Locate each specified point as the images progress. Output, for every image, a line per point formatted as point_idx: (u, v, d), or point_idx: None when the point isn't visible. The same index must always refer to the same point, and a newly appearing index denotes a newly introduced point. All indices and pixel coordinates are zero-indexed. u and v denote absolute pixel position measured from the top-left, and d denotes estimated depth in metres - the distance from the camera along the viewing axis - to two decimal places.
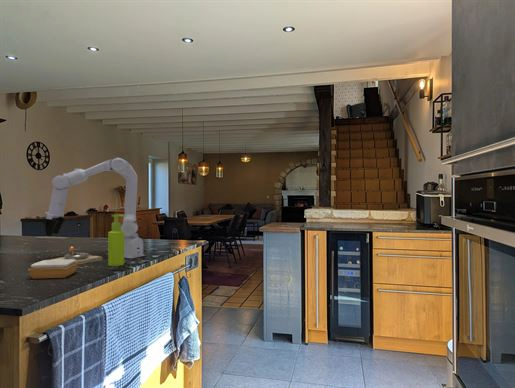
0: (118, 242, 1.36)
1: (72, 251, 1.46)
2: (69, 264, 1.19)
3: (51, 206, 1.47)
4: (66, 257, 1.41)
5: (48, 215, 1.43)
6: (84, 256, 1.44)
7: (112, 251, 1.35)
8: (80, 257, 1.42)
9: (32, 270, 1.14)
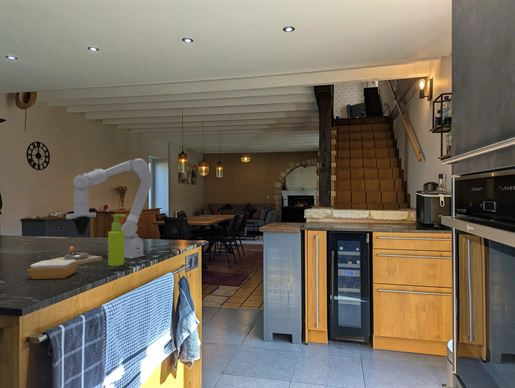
0: (118, 242, 1.36)
1: (72, 251, 1.46)
2: (69, 264, 1.18)
3: (74, 206, 1.49)
4: (66, 257, 1.41)
5: (67, 215, 1.44)
6: (84, 256, 1.44)
7: (112, 251, 1.35)
8: (80, 257, 1.42)
9: (32, 270, 1.14)
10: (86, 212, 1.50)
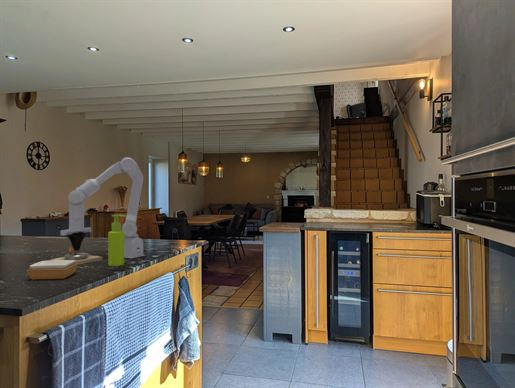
0: (118, 242, 1.36)
1: (72, 251, 1.46)
2: (68, 265, 1.18)
3: (69, 222, 1.47)
4: (66, 257, 1.41)
5: (61, 231, 1.42)
6: (84, 256, 1.44)
7: (112, 251, 1.35)
8: (80, 257, 1.42)
9: (31, 271, 1.13)
10: (81, 228, 1.48)
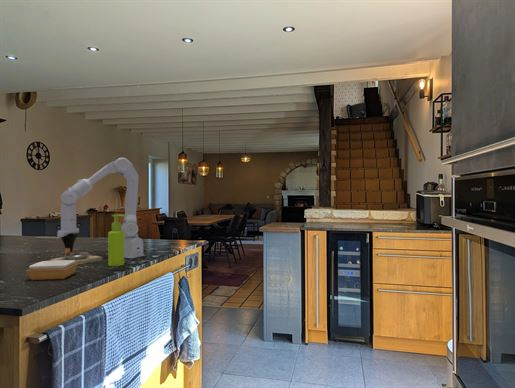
0: (118, 242, 1.36)
1: (69, 252, 1.44)
2: (68, 265, 1.17)
3: (62, 223, 1.42)
4: (76, 257, 1.41)
5: (59, 233, 1.38)
6: (88, 254, 1.48)
7: (112, 251, 1.35)
8: (88, 255, 1.46)
9: (31, 271, 1.13)
10: (75, 228, 1.45)
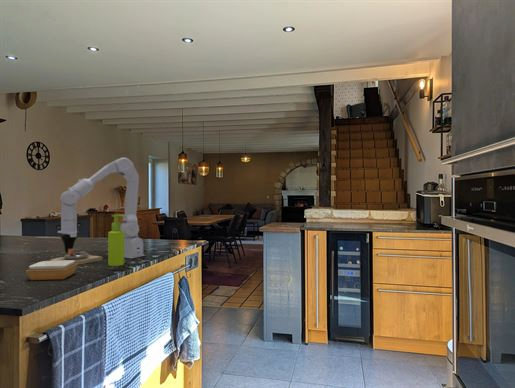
0: (118, 242, 1.36)
1: None
2: (68, 265, 1.17)
3: (66, 224, 1.40)
4: (85, 256, 1.44)
5: (72, 233, 1.37)
6: None
7: (112, 251, 1.35)
8: None
9: (30, 271, 1.12)
10: None
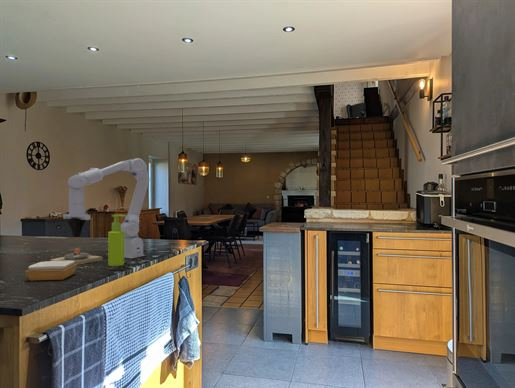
0: (118, 242, 1.36)
1: None
2: (67, 266, 1.16)
3: (77, 207, 1.42)
4: (88, 254, 1.48)
5: (87, 216, 1.41)
6: None
7: (112, 251, 1.35)
8: None
9: (30, 272, 1.12)
10: None
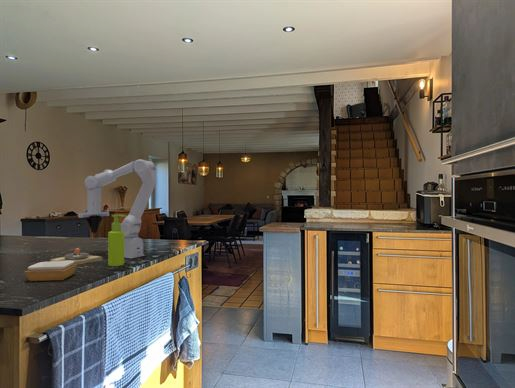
0: (118, 242, 1.36)
1: None
2: (67, 266, 1.16)
3: (87, 206, 1.57)
4: (88, 254, 1.48)
5: (79, 214, 1.52)
6: None
7: (112, 251, 1.35)
8: None
9: (29, 272, 1.11)
10: (98, 211, 1.57)
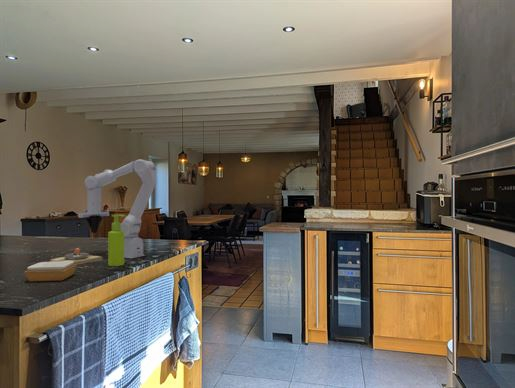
0: (118, 242, 1.36)
1: None
2: (67, 266, 1.15)
3: (87, 206, 1.57)
4: (88, 254, 1.48)
5: (79, 214, 1.52)
6: None
7: (112, 251, 1.35)
8: None
9: (29, 272, 1.11)
10: (98, 211, 1.57)
